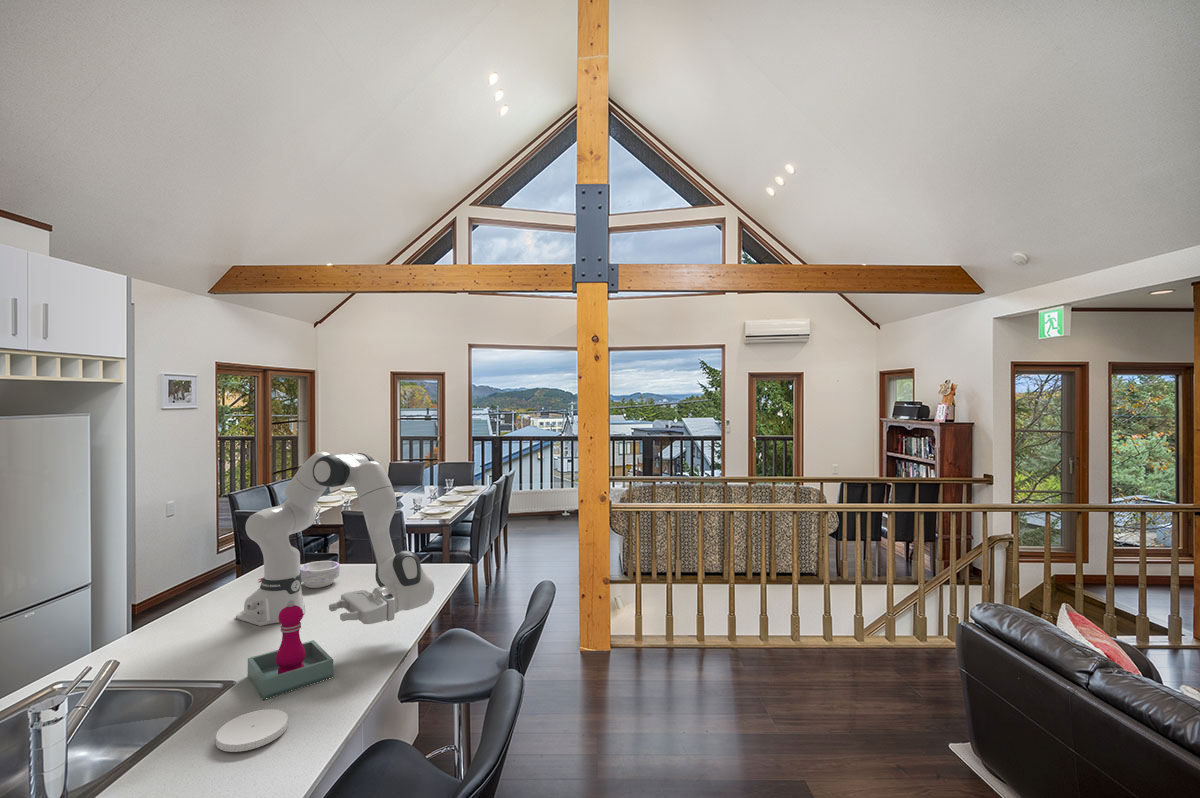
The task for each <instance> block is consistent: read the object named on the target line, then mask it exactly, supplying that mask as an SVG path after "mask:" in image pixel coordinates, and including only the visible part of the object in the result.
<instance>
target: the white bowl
mask: <svg viewBox="0 0 1200 798" xmlns="http://www.w3.org/2000/svg"><path fill="white" fill-rule="evenodd" d="M340 567H341V565H340V563H339V562H337V561H333V560H320V561H319V560H318V561H311V562H307V563H304V564H302V565H300V573H301V576H302V578H301V579H302V583H303V584H304V586H305V587H307V588H309V589H310V588H311V589H319V588H325V587H328V586H330V585H332V584H333V583H334V581H335V580H336V579H337V578H339V577H340V571H341V569H340Z"/></svg>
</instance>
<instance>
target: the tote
mask: <svg viewBox="0 0 1200 798" xmlns="http://www.w3.org/2000/svg"><path fill="white" fill-rule="evenodd" d="M302 644H303V646H304V648H305V654H306V657H305V659H304V660H303V662H302V663H303V664H304V667H301V668H298V669H295V670H291V671H288V672H285V673H281V674H278V668H279V666H278V665H277V663H276V656H277V652H278V650H279V649H277V650H273V651H269V652H265V653H262V654H257V655H255V656H250V657H248V658H247V678H248V677H249V678H248V679H249V681H250V680H251V681H250V683H251V684H252V683H253V684H252V685H253V687H254V686H255V687H254V689H255V690H256V689H257V690H256V691H258V692H259V693H258V692H257V693H258V694H260V695H259V696H260V697H262V698H263V699H266V698H269V699H271V698H270V697H272V698H274V697H273V696H275V697H277V696H276V695H278V696H280V694H281V695H283V694H282V693H284V694H286V692H287V693H290V692H292V691H291V690H293V691H296V690H295V689H297V690H299V689H298V688H300V689H302V688H301V687H303V688H305V687H304V686H306V687H308V686H307V685H309V686H311V685H310V684H312V685H315V684H317V682H318V683H321V682H324V681H327V680H330V679H329V678H331V679H333V678H334V659H333V657H332V656H331V655H329V654H328V653H327V651H326V650H324V649H323V648H322V647H321V646H320V644H318V643H317V642H316V641H315V639H312V640H309V641H305V642H302ZM332 677H333V678H332ZM326 679H327V680H326ZM323 680H324V681H323ZM320 681H321V682H320ZM314 683H315V684H314ZM289 691H290V692H289ZM262 698H261V699H262ZM263 699H262V700H263ZM266 700H267V699H266Z"/></svg>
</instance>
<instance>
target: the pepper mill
mask: <svg viewBox="0 0 1200 798" xmlns="http://www.w3.org/2000/svg"><path fill="white" fill-rule="evenodd" d="M294 604H295V603H294V601H289V602H288V603H287V607H285V608H283V609H282V610H281V611H280V613H279V617H278V620H279V622H280V623H279V624H281V625H280V632H281V633H282V637H281V642H280V644H279V645H280V646H279V647H278V649H277V650H278V652H277V656H276V663H277V665H278V666H279V668H278V674H281V673H285V672H288V671H291V670H295V669H298V668H301V667H304V664H303V663H302V662H303V660H304V659H305V657H306V654H305V648H304V646H303V644H302V643H303V642H302V640H301V638H300V637H301V636H300V629H302V625H301V624H302V622H301V621H302V619H303V617H304V614H303V611H302V609H301V608H300V607H299V606H296V605H294Z"/></svg>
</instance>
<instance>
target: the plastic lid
mask: <svg viewBox="0 0 1200 798" xmlns="http://www.w3.org/2000/svg"><path fill="white" fill-rule="evenodd" d="M288 727H289V716H288V714H287V712H285V711H284V710H281V709H275V708H272V709H271V708H269V709H268V708H267V709H261V710H260V709H259V710H255V711H251V712H247V713H243V714H240V715H239V716H237V717H233V719H231V720H228V721H226V723H224V725H222V726H221V727H220V728H219V729H218V730H217V731H216V733H215V745H216V748H217V749H219V750H221V751H224V752H228V753H229V752H230V753H235V752H236V753H238V752H239V753H241V752H245V751H250V750H254V749H257V748H261V747H263V746H264V745H267V744H269V743H271V742H273V741H275V740H276V739H278V738H279V737H280V736H282V735H283V734H285V732H286V730H287V729H288Z"/></svg>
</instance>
